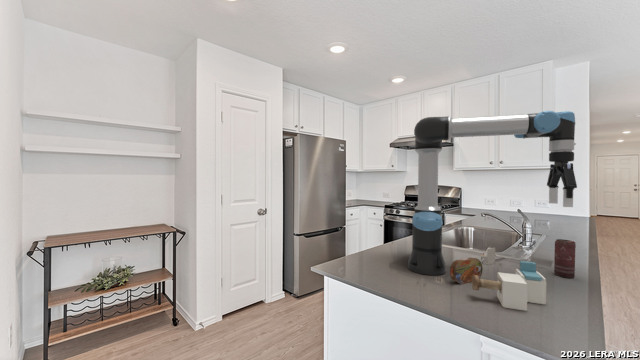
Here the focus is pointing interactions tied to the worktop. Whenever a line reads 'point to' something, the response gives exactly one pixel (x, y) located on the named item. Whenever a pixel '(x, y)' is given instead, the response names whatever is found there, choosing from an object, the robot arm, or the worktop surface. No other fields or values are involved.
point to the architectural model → (489, 256)
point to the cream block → (512, 291)
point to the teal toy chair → (529, 270)
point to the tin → (465, 270)
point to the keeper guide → (535, 289)
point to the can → (564, 258)
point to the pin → (485, 283)
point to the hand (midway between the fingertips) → (560, 205)
